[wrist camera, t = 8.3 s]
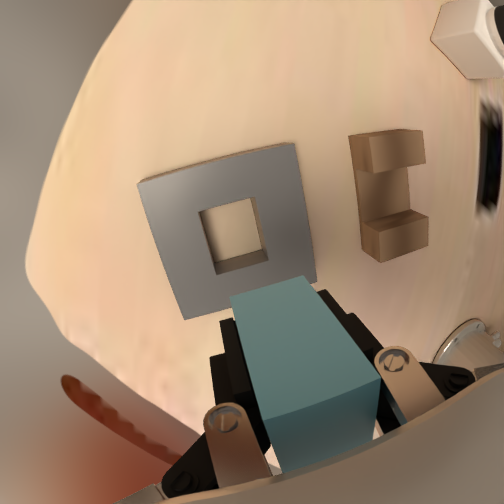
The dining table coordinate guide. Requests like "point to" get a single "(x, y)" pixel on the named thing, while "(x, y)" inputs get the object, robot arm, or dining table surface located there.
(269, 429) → the plug
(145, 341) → the dining table surface
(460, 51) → the medicine bottle
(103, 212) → the dining table surface
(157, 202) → the port block
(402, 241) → the brown notched block
